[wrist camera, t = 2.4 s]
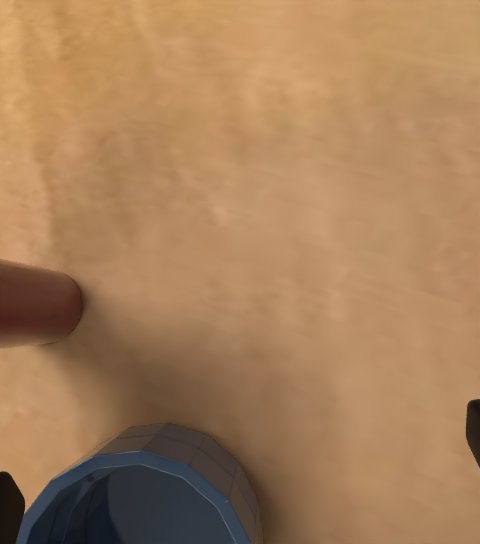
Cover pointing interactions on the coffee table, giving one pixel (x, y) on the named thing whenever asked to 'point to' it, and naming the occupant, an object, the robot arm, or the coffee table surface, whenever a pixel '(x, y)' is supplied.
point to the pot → (147, 494)
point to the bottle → (36, 305)
